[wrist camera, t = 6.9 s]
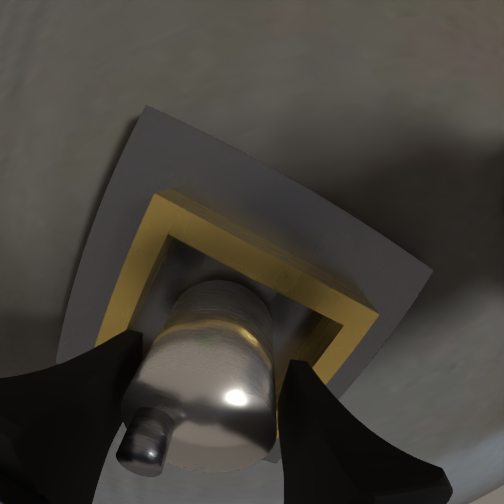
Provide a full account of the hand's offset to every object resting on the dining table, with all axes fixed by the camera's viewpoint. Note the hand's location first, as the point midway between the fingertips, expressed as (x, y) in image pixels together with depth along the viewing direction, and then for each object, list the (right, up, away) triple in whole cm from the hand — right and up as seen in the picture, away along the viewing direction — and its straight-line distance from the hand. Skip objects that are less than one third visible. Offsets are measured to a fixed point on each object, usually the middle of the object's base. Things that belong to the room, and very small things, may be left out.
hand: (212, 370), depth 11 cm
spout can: (0, +1, +3) cm, 3 cm away
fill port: (0, +1, +4) cm, 4 cm away
